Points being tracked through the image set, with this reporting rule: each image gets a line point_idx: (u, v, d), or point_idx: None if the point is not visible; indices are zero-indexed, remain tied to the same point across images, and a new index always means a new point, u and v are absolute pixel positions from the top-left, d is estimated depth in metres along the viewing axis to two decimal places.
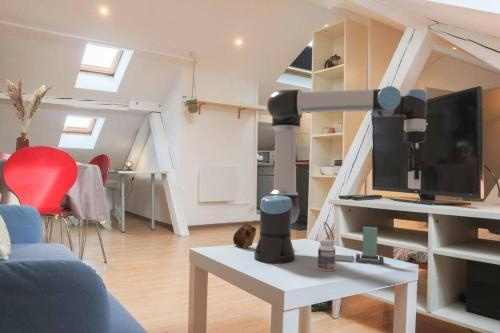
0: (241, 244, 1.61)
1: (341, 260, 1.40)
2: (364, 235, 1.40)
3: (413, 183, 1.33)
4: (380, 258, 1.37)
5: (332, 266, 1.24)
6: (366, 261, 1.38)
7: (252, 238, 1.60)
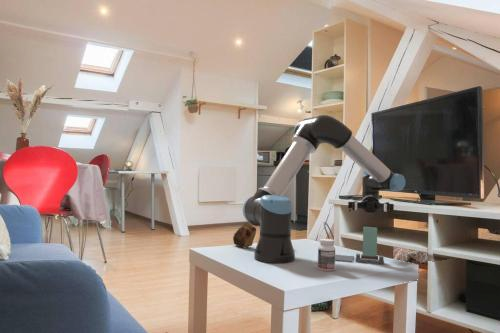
0: (241, 244, 1.61)
1: (341, 260, 1.40)
2: (364, 235, 1.40)
3: (386, 205, 1.46)
4: (380, 258, 1.37)
5: (332, 266, 1.24)
6: (366, 261, 1.38)
7: (252, 238, 1.60)
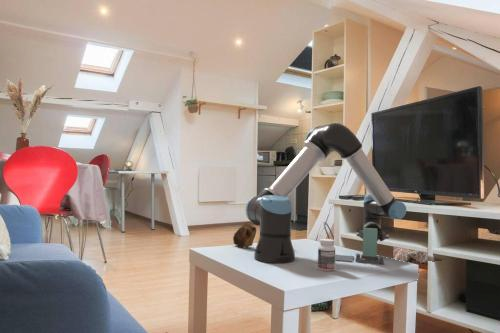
0: (241, 244, 1.61)
1: (341, 260, 1.40)
2: (364, 236, 1.39)
3: None
4: (380, 258, 1.37)
5: (332, 266, 1.24)
6: (366, 261, 1.38)
7: (252, 238, 1.60)
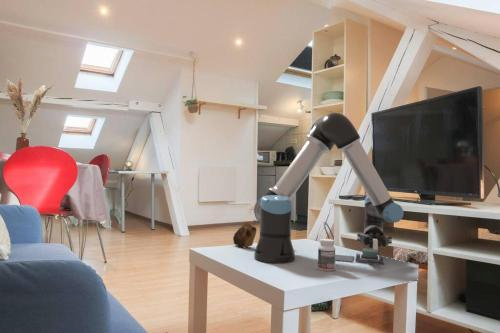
0: (241, 244, 1.61)
1: (341, 260, 1.40)
2: (364, 253, 1.33)
3: (377, 241, 1.29)
4: (380, 258, 1.37)
5: (332, 266, 1.24)
6: (366, 261, 1.38)
7: (252, 238, 1.60)
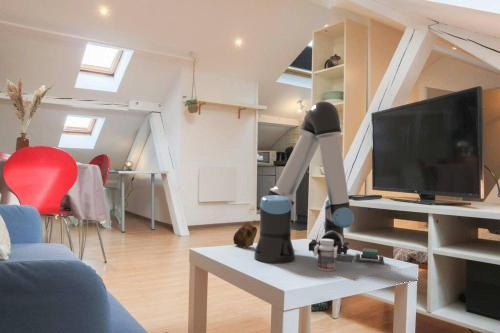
0: (242, 244, 1.61)
1: (341, 260, 1.40)
2: (364, 253, 1.33)
3: (336, 249, 1.23)
4: (380, 258, 1.37)
5: (332, 266, 1.24)
6: (366, 261, 1.38)
7: (253, 238, 1.61)
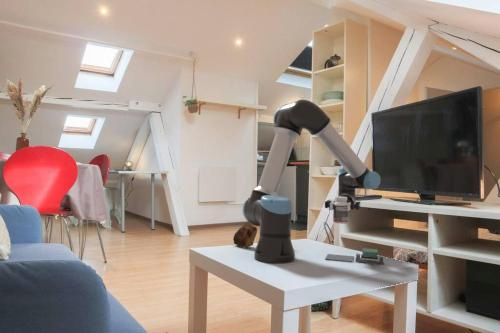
0: (242, 244, 1.61)
1: (341, 260, 1.40)
2: (364, 253, 1.33)
3: (350, 204, 1.40)
4: (380, 258, 1.37)
5: (346, 219, 1.42)
6: (366, 261, 1.38)
7: (253, 238, 1.61)
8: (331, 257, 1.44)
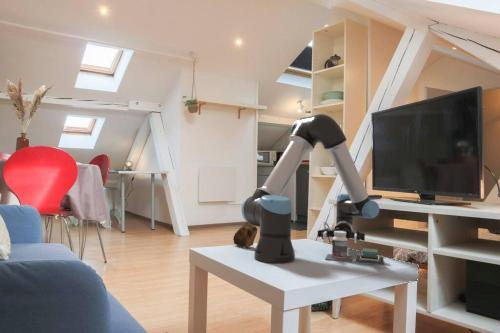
0: (242, 244, 1.61)
1: (341, 260, 1.40)
2: (364, 253, 1.33)
3: (356, 235, 1.41)
4: (380, 258, 1.37)
5: (345, 254, 1.43)
6: (366, 261, 1.38)
7: (253, 238, 1.61)
8: (331, 257, 1.44)
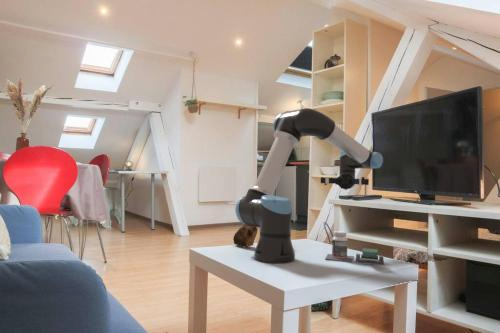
0: (242, 244, 1.61)
1: (341, 260, 1.40)
2: (364, 253, 1.33)
3: (361, 179, 1.55)
4: (380, 258, 1.37)
5: (345, 254, 1.43)
6: (366, 261, 1.38)
7: (253, 238, 1.61)
8: (331, 257, 1.44)
